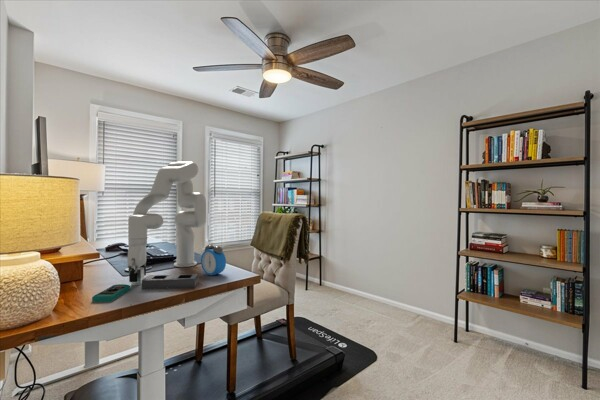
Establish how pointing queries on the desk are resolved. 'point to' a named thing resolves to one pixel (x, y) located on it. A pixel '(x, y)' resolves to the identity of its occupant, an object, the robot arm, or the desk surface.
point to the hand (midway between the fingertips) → (137, 278)
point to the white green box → (139, 276)
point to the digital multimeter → (111, 293)
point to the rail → (170, 281)
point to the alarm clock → (213, 260)
